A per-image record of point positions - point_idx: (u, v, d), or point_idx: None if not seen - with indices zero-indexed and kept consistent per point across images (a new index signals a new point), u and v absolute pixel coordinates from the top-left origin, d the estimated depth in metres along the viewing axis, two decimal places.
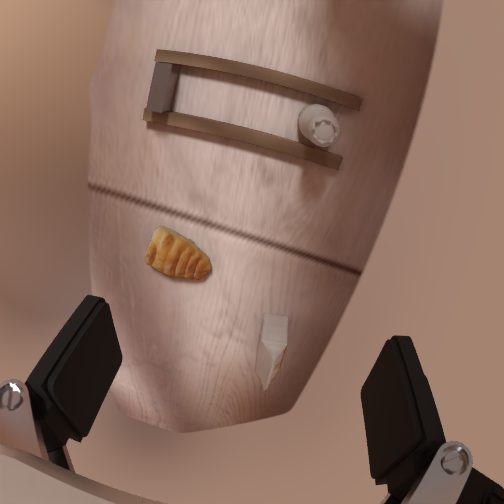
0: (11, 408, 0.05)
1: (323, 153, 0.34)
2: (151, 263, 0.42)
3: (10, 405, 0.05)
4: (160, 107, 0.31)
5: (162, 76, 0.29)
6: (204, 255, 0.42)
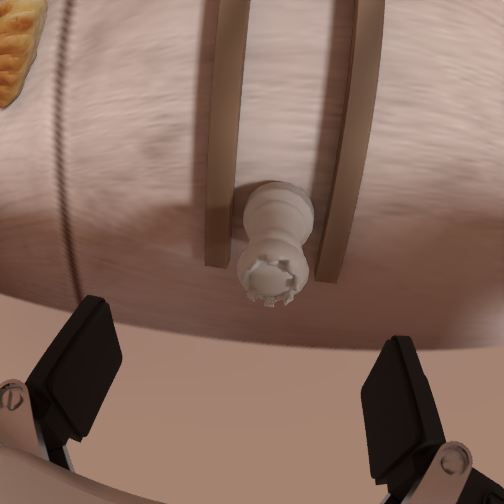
0: (11, 408, 0.05)
1: (225, 237, 0.20)
2: None
3: (10, 405, 0.05)
4: None
5: None
6: (16, 88, 0.16)
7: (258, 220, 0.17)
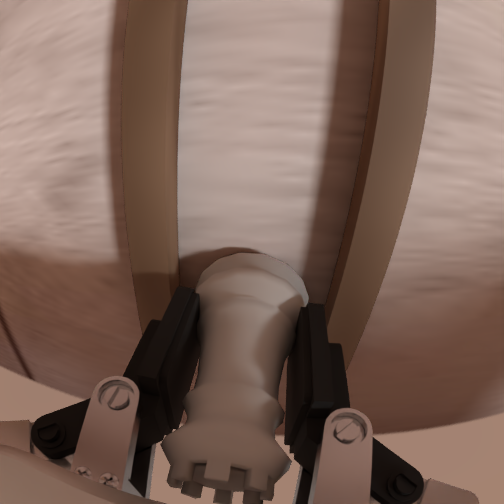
0: (112, 405, 0.06)
1: None
2: None
3: (111, 403, 0.06)
4: None
5: None
6: None
7: (208, 338, 0.09)
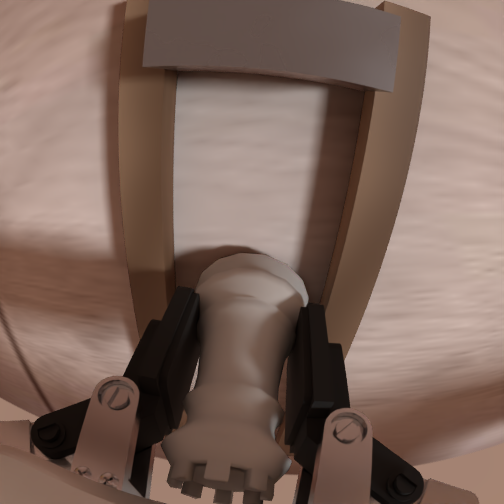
0: (112, 405, 0.06)
1: None
2: None
3: (111, 403, 0.06)
4: (165, 56, 0.06)
5: (329, 43, 0.06)
6: None
7: (207, 338, 0.09)
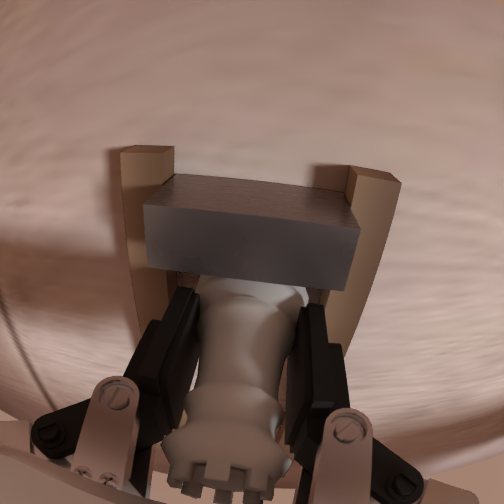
0: (112, 405, 0.06)
1: None
2: None
3: (111, 403, 0.06)
4: (165, 262, 0.09)
5: (294, 260, 0.08)
6: None
7: (207, 338, 0.09)
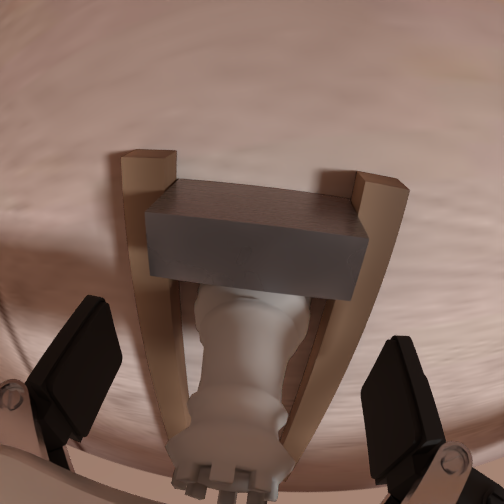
0: (11, 408, 0.05)
1: None
2: None
3: (10, 405, 0.05)
4: (167, 271, 0.09)
5: (300, 270, 0.08)
6: None
7: (211, 339, 0.09)
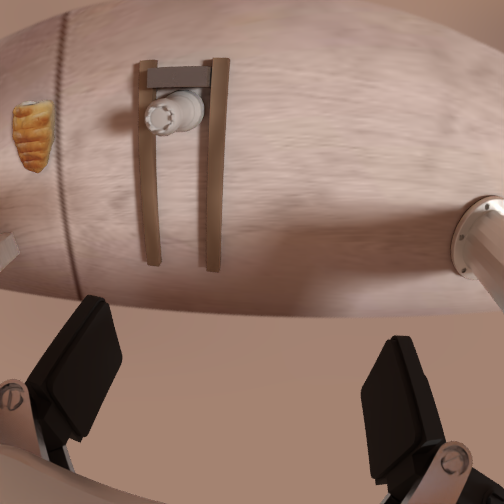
0: (12, 408, 0.05)
1: (156, 250, 0.36)
2: (15, 115, 0.26)
3: (10, 405, 0.05)
4: (152, 85, 0.25)
5: (189, 78, 0.25)
6: (46, 160, 0.31)
7: None
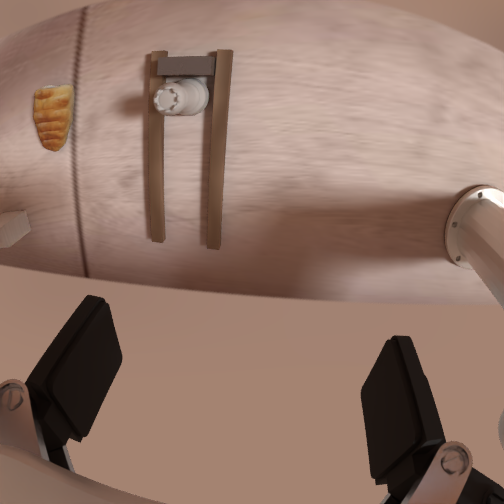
0: (11, 408, 0.05)
1: (160, 226, 0.39)
2: (36, 97, 0.29)
3: (10, 405, 0.05)
4: (162, 72, 0.28)
5: (195, 66, 0.27)
6: (64, 140, 0.34)
7: None
